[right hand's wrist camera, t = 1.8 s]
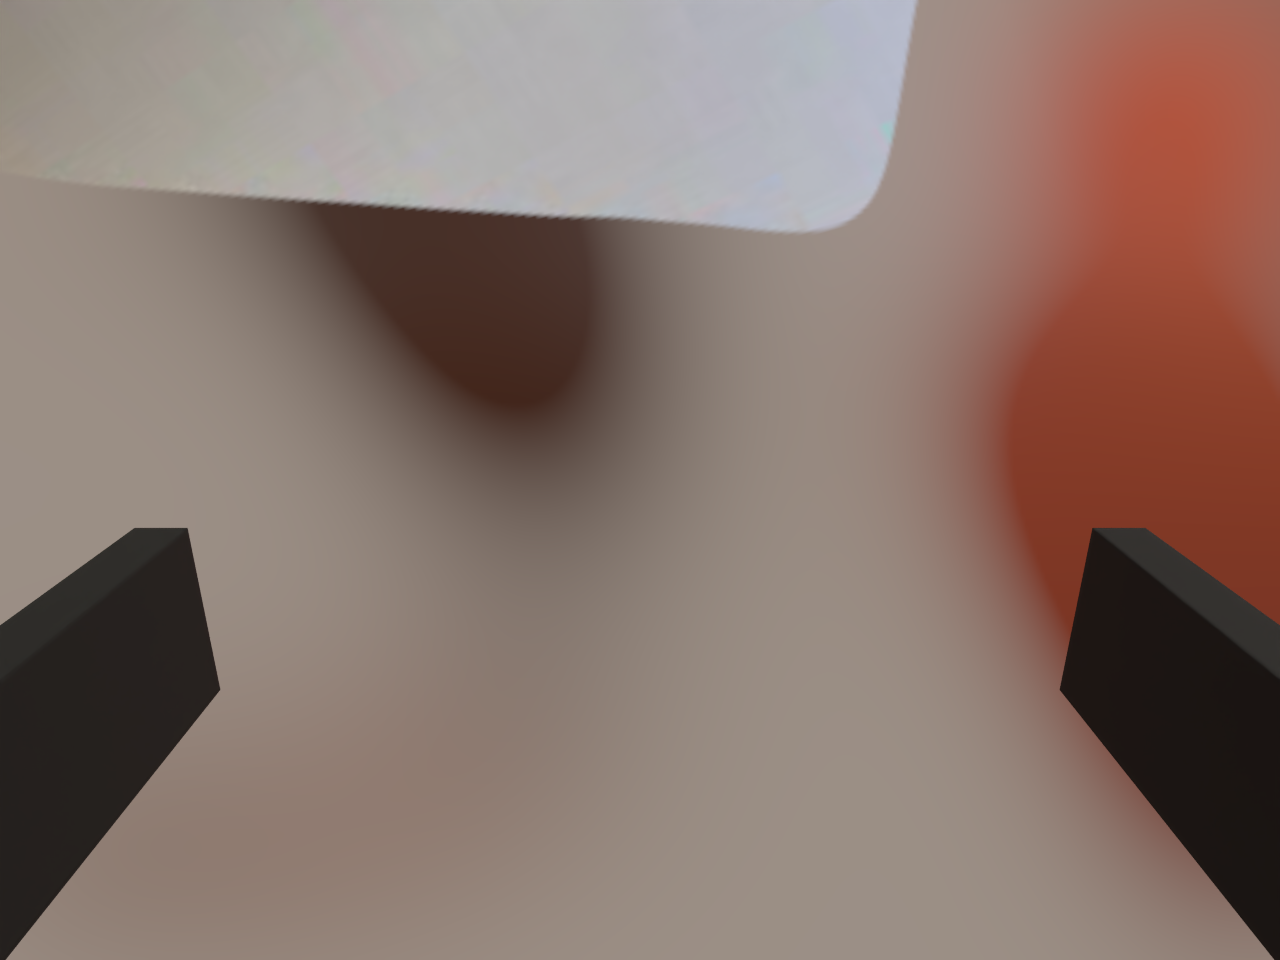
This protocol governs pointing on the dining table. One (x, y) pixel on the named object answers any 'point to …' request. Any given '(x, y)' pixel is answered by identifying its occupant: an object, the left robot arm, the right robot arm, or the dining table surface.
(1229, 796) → the right robot arm
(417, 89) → the dining table surface
